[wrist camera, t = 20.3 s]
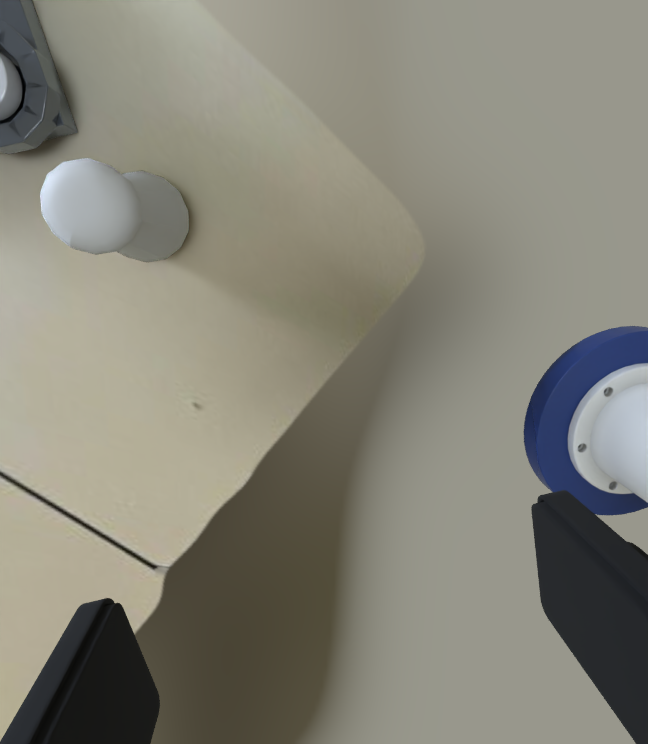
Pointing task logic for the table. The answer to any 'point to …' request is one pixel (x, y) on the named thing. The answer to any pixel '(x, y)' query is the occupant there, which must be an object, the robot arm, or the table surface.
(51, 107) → the plate
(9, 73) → the flush button
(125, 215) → the salt shaker
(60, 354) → the table surface
